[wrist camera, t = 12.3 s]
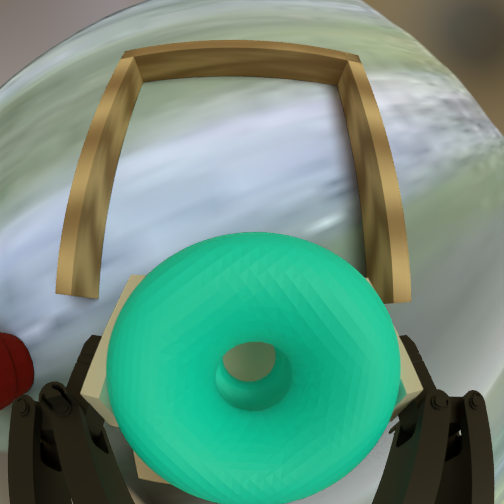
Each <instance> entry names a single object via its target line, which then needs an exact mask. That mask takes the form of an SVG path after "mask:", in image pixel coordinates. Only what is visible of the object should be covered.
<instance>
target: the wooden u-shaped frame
mask: <svg viewBox="0 0 504 504" xmlns="http://www.w3.org/2000/svg"><path fill="white" fill-rule="evenodd" d="M204 76H255V77H272V78H285V79H295V80H303V81H311V82H318V83H325V84H331V85H336V86H338V90H339V94H340V98H341V102H342V106H343V110H344V114H345V118H346V123H347V127H348V132H349V137H350V142H351V147H352V152H353V158H354V164H355V170H356V176H357V182H358V189H359V197H360V204H361V213H362V222H363V232H364V244H365V258H366V276H367V278H368V279H369V281H370V282H371V284H372V286H373V288H374V289H375V291H376V293H377V294H378V295H379V297H380V299H381V300H382V302H383V304H388V303H401V302H411V284H410V267H409V255H408V245H407V236H406V228H405V221H404V214H403V208H402V202H401V196H400V191H399V185H398V181H397V176H396V171H395V167H394V162H393V158H392V154H391V150H390V146H389V142H388V139H387V135H386V132H385V128H384V125H383V121H382V118H381V115H380V112H379V109H378V106H377V103H376V100H375V97H374V94H373V91H372V89H371V86H370V83H369V81H368V78H367V76H366V73H365V71H364V68H363V66H362V63H361V61H360V59H359V56H358V55H354V54H350V53H346V52H341V51H336V50H331V49H326V48H320V47H314V46H308V45H300V44H292V43H283V42H271V41H254V40H210V41H193V42H182V43H173V44H165V45H157V46H151V47H145V48H139V49H134V50H129V51H125V52H124V54H123V56H122V58H121V60H120V62H119V63H118V65H117V67H116V69H115V71H114V73H113V75H112V77H111V79H110V81H109V83H108V85H107V87H106V90H105V92H104V94H103V96H102V99H101V101H100V103H99V106H98V108H97V110H96V113H95V115H94V118H93V120H92V123H91V126H90V128H89V131H88V134H87V137H86V140H85V142H84V145H83V148H82V152H81V155H80V158H79V161H78V165H77V168H76V172H75V175H74V179H73V183H72V187H71V191H70V195H69V199H68V204H67V209H66V214H65V219H64V224H63V230H62V236H61V243H60V250H59V258H58V267H57V279H56V294H63V295H70V296H78V297H87V298H96V299H99V281H100V268H101V257H102V248H103V240H104V233H105V226H106V219H107V213H108V207H109V202H110V196H111V191H112V186H113V182H114V177H115V173H116V168H117V164H118V160H119V156H120V152H121V148H122V145H123V141H124V138H125V134H126V131H127V127H128V124H129V121H130V118H131V115H132V112H133V109H134V106H135V103H136V100H137V97H138V94H139V92H140V89H141V86H142V84H143V82H148V81H156V80H164V79H174V78H186V77H204Z"/></svg>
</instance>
